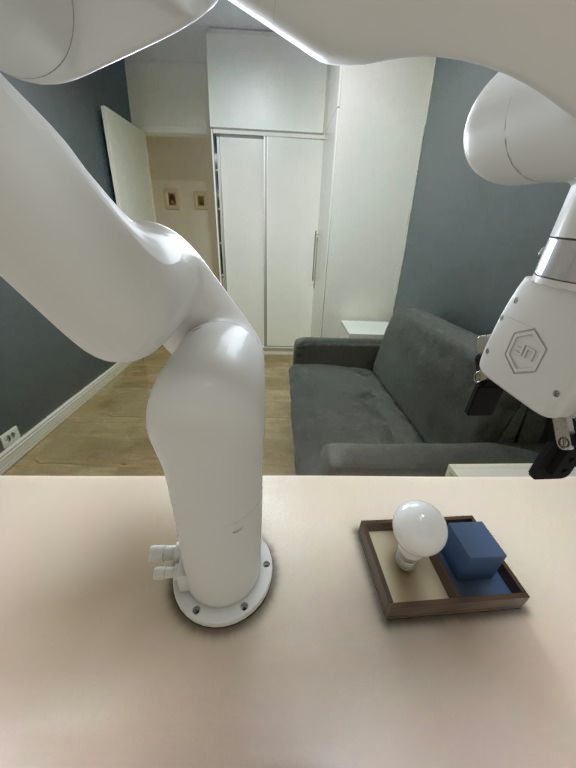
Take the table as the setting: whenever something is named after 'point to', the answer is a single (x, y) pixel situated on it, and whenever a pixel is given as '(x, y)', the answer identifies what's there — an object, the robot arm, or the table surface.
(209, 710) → the table surface
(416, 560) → the lightbulb
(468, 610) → the sorting tray
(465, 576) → the block
